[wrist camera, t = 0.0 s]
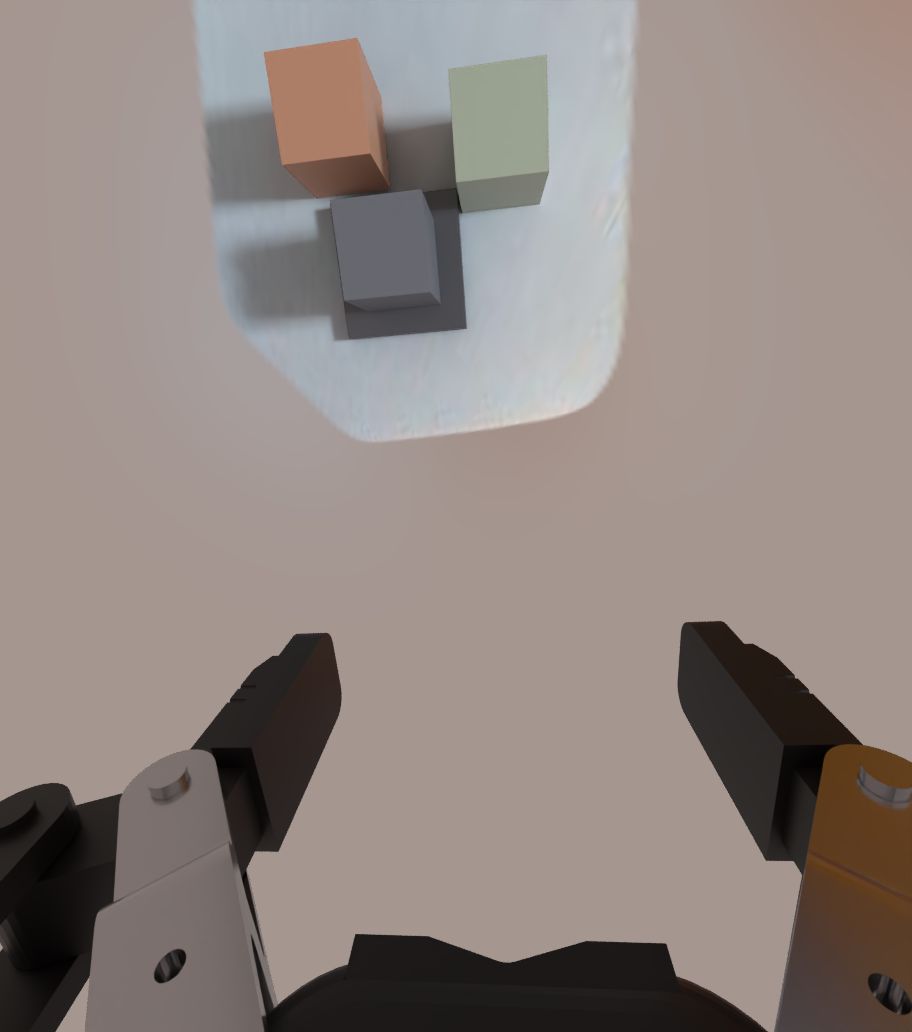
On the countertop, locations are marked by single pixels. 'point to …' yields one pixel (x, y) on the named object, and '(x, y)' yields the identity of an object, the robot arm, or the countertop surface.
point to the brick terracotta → (329, 118)
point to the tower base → (448, 278)
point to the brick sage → (500, 133)
